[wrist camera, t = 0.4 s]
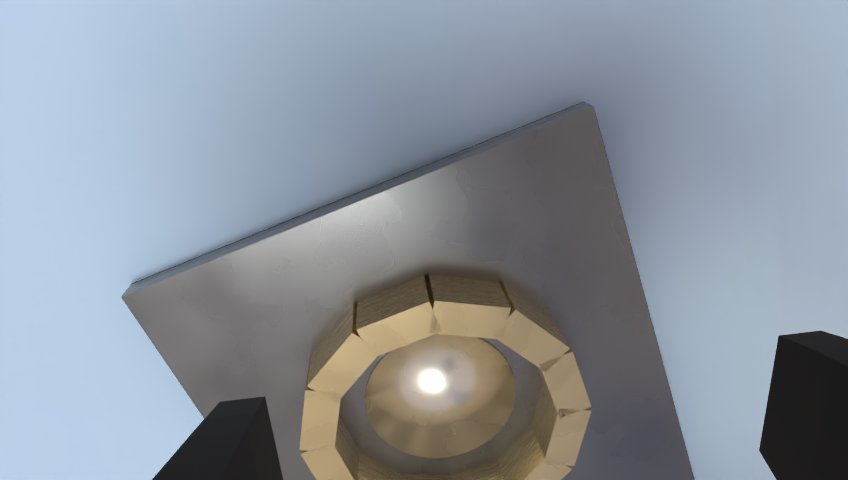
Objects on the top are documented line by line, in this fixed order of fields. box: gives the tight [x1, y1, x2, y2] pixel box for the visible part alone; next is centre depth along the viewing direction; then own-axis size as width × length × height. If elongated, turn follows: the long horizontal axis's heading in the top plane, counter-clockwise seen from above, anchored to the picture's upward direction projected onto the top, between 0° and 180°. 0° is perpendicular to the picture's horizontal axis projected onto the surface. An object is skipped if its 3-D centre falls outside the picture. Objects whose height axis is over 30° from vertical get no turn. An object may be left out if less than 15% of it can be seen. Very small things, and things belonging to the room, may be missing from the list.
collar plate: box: [122, 102, 694, 480], centre depth 20 cm, size 18×14×2 cm
